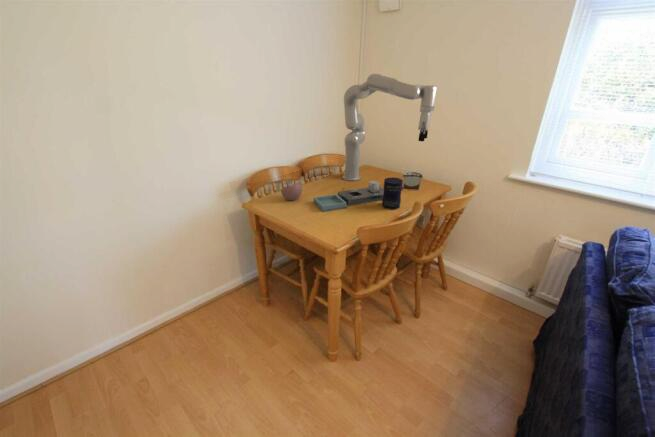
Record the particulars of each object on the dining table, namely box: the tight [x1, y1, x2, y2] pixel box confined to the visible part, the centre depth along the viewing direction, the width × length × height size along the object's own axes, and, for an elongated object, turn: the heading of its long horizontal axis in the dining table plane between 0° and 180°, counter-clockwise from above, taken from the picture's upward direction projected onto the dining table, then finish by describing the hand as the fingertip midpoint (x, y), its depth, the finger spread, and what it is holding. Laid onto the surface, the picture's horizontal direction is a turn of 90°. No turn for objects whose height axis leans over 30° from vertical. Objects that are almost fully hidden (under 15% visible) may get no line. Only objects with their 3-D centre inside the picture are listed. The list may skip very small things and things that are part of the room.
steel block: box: [368, 180, 380, 193], centre depth 179 cm, size 4×4×9 cm
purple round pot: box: [280, 179, 303, 201], centre depth 174 cm, size 12×12×12 cm
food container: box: [402, 171, 424, 191], centre depth 193 cm, size 12×6×10 cm, turn 84°
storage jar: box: [381, 177, 404, 210], centre depth 165 cm, size 10×10×15 cm
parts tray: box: [313, 193, 348, 213], centre depth 168 cm, size 14×14×3 cm
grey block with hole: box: [337, 185, 384, 207], centre depth 178 cm, size 14×28×4 cm, turn 113°
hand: (422, 139), depth 180 cm, fingers open, 9 cm apart
